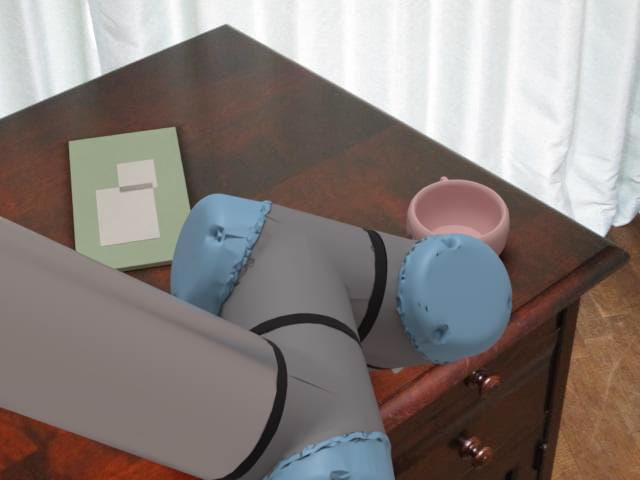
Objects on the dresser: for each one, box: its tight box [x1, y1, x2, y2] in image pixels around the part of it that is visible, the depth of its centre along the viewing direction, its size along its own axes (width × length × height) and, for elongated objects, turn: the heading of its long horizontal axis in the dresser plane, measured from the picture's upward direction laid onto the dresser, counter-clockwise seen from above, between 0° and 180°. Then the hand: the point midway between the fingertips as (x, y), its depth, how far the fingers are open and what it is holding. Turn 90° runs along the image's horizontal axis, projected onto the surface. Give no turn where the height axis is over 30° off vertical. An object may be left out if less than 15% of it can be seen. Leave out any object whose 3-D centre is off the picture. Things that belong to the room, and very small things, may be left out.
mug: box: [405, 176, 511, 257], centre depth 113 cm, size 12×10×6 cm
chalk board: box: [68, 126, 192, 273], centre depth 121 cm, size 22×12×1 cm, turn 11°
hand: (235, 347), depth 99 cm, fingers open, 13 cm apart
